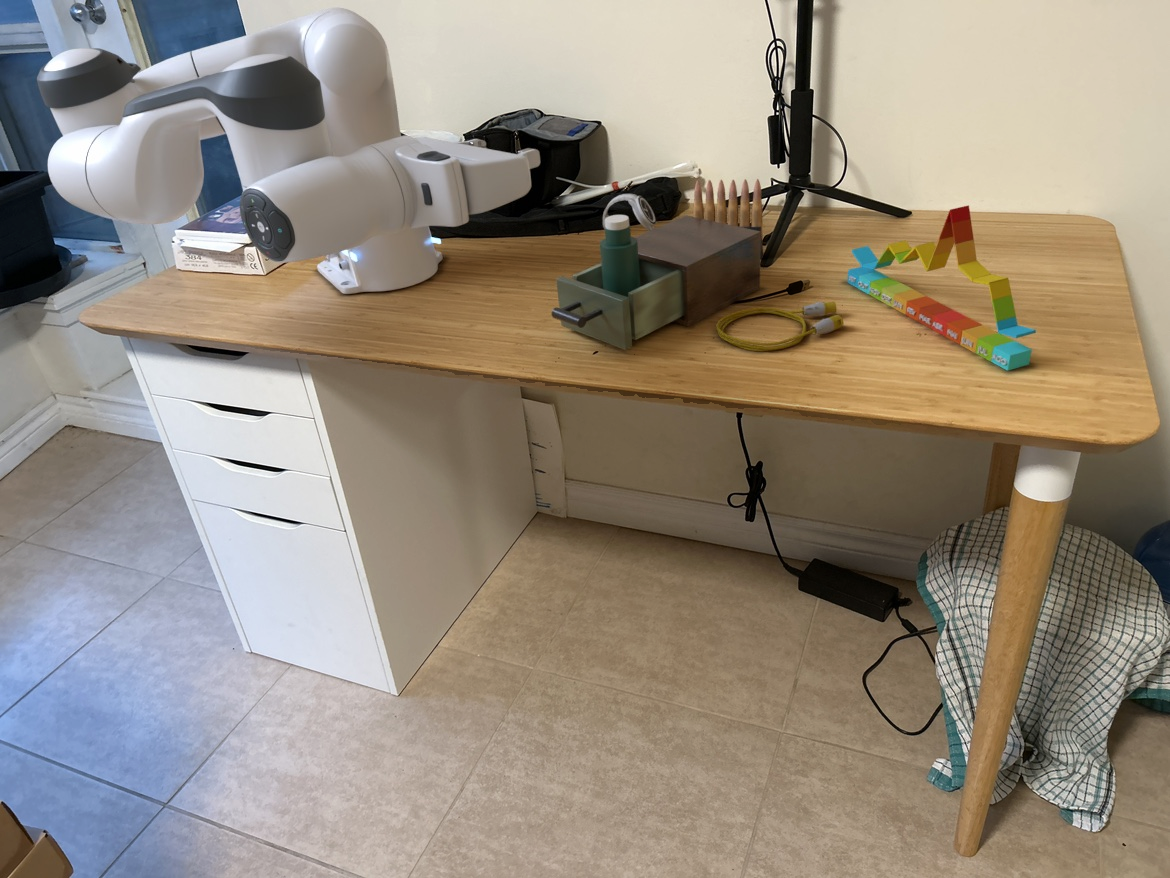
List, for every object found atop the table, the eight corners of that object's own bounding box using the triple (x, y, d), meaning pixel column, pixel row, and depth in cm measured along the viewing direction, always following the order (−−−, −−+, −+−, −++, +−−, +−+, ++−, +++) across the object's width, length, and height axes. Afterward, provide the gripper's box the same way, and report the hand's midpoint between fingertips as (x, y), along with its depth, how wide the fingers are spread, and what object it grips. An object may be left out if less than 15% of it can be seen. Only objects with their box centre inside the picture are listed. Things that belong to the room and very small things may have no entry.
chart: (845, 282, 119) (853, 175, 111) (865, 278, 120) (874, 171, 112) (1005, 371, 95) (1030, 242, 87) (1028, 364, 96) (1055, 236, 88)
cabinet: (688, 326, 112) (686, 266, 108) (616, 303, 121) (612, 246, 116) (759, 288, 120) (761, 231, 116) (688, 269, 129) (686, 215, 125)
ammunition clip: (692, 258, 133) (690, 181, 126) (694, 254, 134) (692, 178, 128) (761, 259, 130) (763, 180, 123) (763, 255, 131) (764, 177, 125)
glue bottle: (598, 316, 113) (589, 220, 106) (623, 304, 116) (616, 210, 109) (623, 325, 110) (616, 227, 103) (649, 312, 112) (644, 216, 106)
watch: (655, 272, 129) (651, 200, 123) (603, 272, 131) (597, 202, 125) (660, 258, 134) (657, 189, 128) (610, 259, 136) (605, 190, 130)
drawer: (601, 363, 104) (596, 312, 100) (537, 337, 112) (530, 289, 108) (701, 311, 114) (700, 263, 110) (635, 290, 122) (632, 245, 118)
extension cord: (841, 355, 101) (842, 340, 100) (709, 350, 106) (709, 335, 105) (844, 313, 111) (845, 299, 110) (724, 309, 116) (724, 295, 114)
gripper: (360, 198, 96) (458, 167, 103) (467, 230, 82) (571, 192, 90) (346, 140, 92) (449, 113, 100) (455, 164, 79) (565, 131, 86)
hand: (508, 151), depth 95 cm, fingers open, 8 cm apart
